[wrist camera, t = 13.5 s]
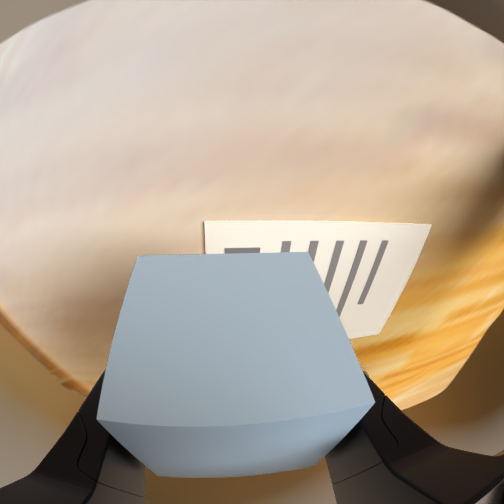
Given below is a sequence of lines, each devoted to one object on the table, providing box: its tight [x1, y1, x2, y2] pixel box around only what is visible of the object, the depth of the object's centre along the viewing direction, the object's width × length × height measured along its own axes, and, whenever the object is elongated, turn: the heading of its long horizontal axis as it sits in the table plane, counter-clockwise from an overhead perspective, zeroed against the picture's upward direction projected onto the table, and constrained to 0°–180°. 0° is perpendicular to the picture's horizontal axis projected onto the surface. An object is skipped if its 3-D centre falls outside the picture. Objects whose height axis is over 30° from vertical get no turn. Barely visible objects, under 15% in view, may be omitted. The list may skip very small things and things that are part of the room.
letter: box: [204, 220, 432, 339], centre depth 23 cm, size 18×14×1 cm
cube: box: [97, 252, 375, 478], centre depth 8 cm, size 5×5×5 cm
